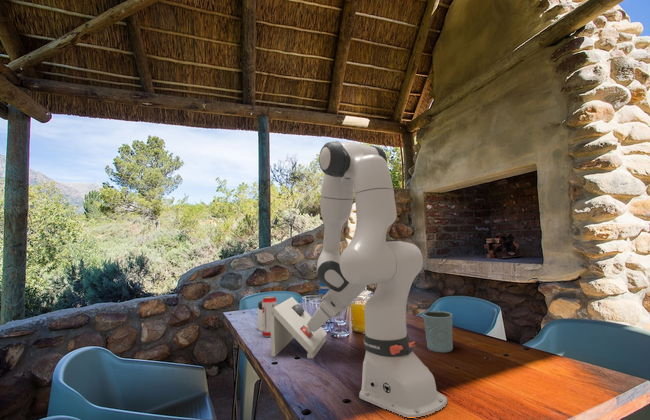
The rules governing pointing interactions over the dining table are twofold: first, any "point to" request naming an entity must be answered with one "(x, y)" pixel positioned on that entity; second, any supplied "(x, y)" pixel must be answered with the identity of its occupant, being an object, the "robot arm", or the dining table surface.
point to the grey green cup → (438, 330)
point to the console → (293, 329)
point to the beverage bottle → (322, 290)
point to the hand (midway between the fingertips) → (308, 330)
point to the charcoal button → (298, 309)
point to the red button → (306, 332)
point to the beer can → (267, 313)
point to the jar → (260, 316)
